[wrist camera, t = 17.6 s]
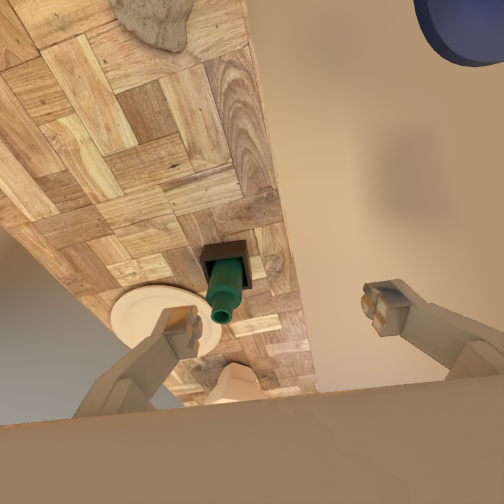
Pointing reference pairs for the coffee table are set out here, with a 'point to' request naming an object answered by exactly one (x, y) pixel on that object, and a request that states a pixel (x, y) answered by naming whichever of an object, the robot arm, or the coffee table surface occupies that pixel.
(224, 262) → the bottle
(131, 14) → the stone
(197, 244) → the coffee table surface
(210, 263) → the holder
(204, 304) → the plate
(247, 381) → the bowl
